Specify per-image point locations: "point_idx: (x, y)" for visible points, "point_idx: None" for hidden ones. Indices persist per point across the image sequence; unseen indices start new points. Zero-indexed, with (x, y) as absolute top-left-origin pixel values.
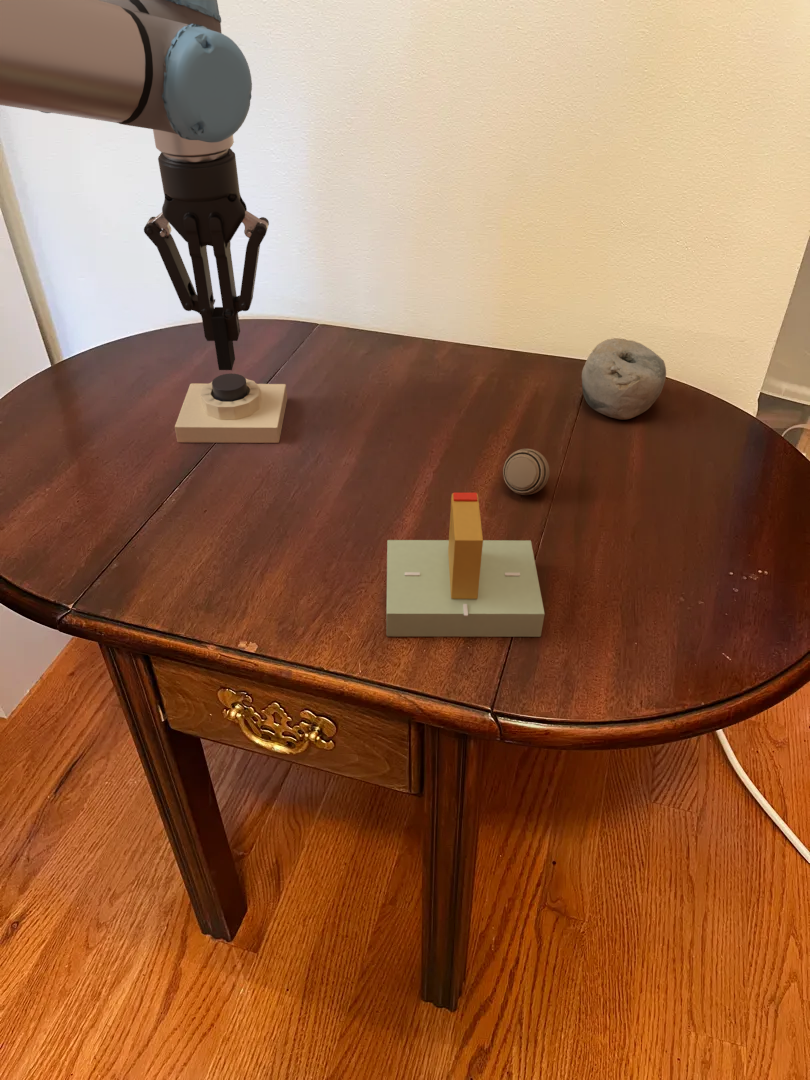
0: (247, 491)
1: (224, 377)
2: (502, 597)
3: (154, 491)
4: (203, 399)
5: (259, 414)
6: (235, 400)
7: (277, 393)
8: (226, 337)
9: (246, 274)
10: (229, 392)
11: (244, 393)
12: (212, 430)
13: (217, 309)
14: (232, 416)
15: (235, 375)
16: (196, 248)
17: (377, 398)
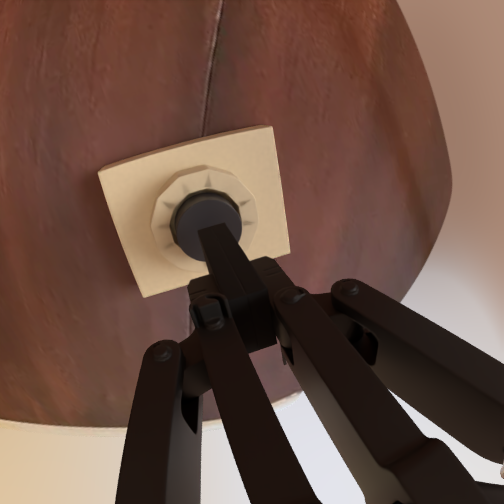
0: (108, 35)
1: None
2: None
3: (248, 8)
4: (244, 186)
5: (143, 200)
6: (186, 201)
7: (142, 269)
8: (213, 268)
9: (153, 464)
10: (196, 201)
11: (175, 221)
12: (208, 138)
13: (265, 336)
14: (182, 171)
15: None
16: (428, 489)
17: (35, 319)
